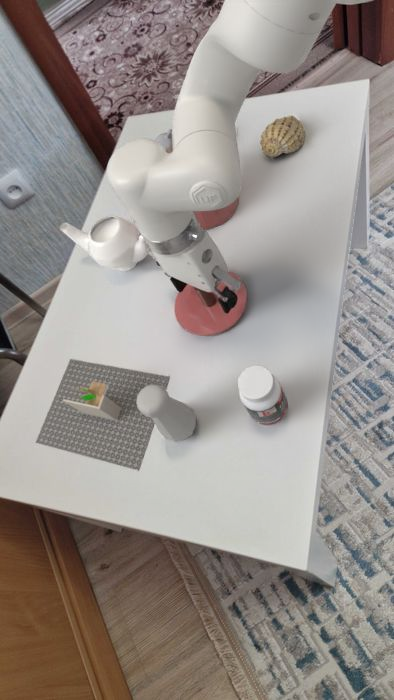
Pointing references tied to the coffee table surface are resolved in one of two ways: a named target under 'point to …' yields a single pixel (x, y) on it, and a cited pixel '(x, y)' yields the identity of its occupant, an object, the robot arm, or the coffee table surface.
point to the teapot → (111, 242)
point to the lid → (207, 310)
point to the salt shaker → (166, 413)
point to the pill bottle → (262, 395)
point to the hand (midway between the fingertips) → (207, 295)
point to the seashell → (282, 136)
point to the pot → (216, 215)
